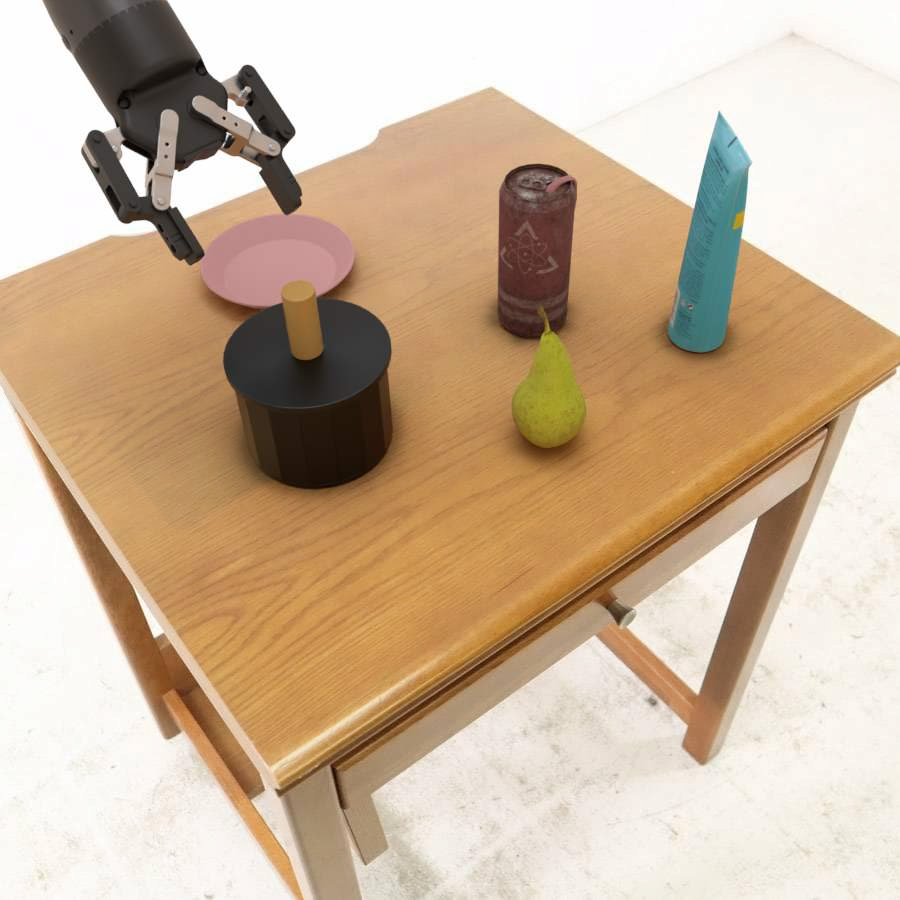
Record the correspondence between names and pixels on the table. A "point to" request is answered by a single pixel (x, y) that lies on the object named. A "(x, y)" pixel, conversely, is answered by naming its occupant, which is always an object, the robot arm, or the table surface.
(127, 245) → the table surface
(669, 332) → the tube
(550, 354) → the fruit
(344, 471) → the tin
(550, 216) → the can
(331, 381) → the lid
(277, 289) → the plate
